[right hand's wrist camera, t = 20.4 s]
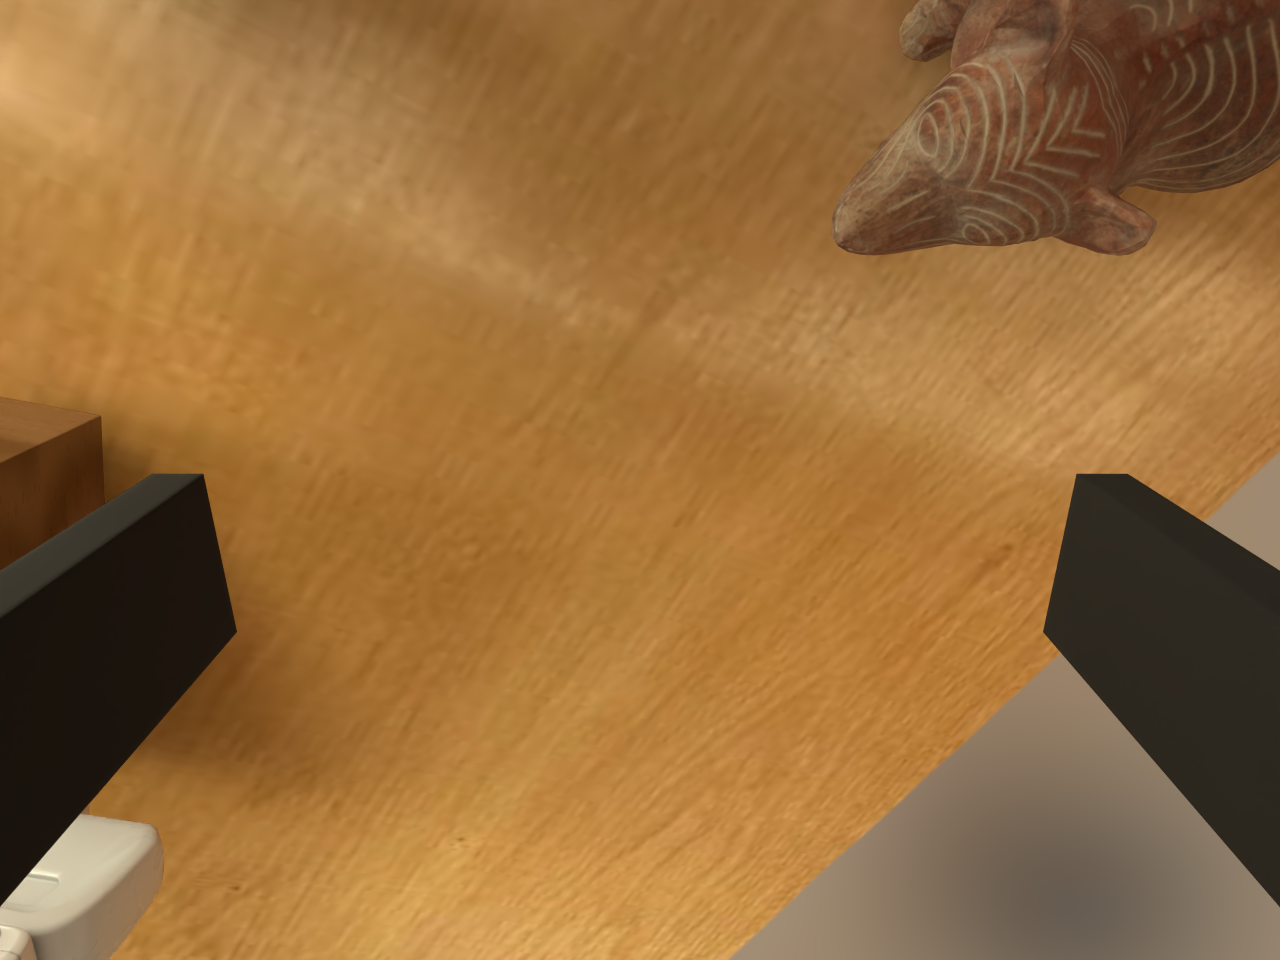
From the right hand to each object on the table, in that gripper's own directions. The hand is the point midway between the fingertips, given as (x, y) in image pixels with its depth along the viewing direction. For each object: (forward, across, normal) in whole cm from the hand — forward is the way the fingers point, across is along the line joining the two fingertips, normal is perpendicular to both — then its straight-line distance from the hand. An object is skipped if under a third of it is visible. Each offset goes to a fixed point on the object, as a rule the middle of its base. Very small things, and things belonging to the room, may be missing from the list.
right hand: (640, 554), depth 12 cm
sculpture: (+30, +18, +9) cm, 36 cm away
